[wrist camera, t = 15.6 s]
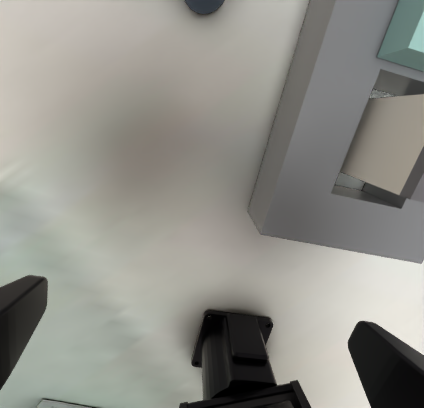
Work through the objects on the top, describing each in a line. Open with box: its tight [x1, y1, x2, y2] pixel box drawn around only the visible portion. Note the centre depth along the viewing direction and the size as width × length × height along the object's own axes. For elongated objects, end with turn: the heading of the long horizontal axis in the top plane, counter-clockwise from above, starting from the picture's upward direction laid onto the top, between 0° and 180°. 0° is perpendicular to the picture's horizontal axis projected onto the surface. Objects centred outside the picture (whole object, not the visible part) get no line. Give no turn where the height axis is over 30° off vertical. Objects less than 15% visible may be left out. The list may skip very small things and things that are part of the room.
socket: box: [248, 0, 424, 264], centre depth 16 cm, size 18×12×4 cm, turn 167°
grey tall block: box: [340, 94, 424, 202], centre depth 14 cm, size 4×4×9 cm
